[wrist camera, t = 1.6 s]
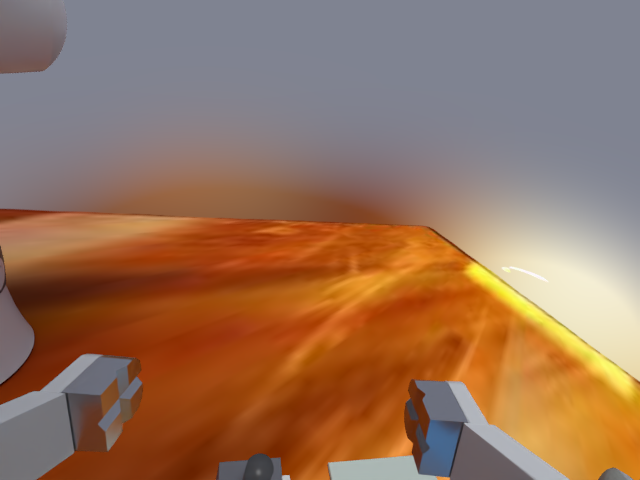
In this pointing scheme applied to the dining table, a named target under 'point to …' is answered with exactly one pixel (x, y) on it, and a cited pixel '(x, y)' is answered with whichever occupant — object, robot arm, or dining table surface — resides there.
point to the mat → (377, 469)
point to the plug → (251, 469)
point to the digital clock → (614, 475)
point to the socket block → (286, 477)
